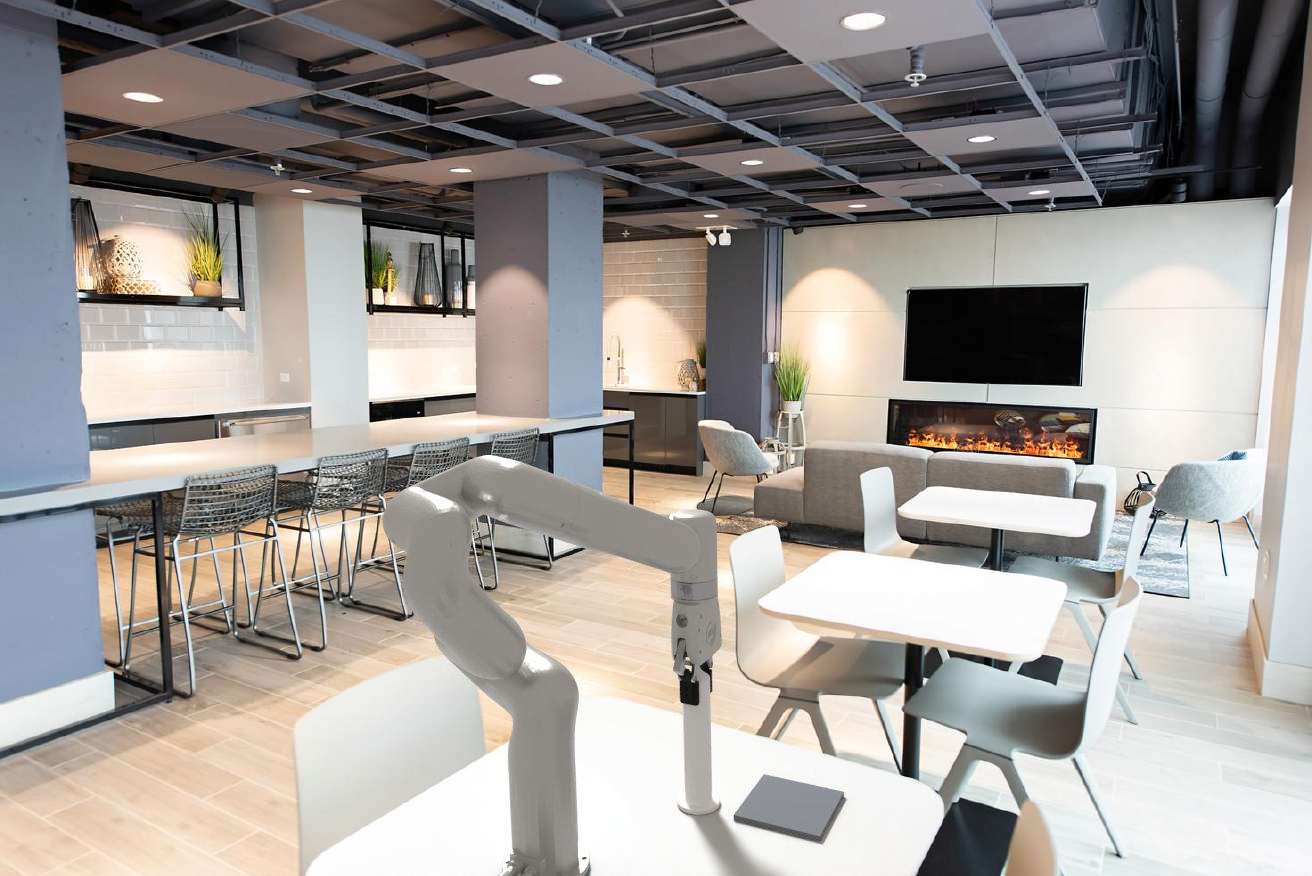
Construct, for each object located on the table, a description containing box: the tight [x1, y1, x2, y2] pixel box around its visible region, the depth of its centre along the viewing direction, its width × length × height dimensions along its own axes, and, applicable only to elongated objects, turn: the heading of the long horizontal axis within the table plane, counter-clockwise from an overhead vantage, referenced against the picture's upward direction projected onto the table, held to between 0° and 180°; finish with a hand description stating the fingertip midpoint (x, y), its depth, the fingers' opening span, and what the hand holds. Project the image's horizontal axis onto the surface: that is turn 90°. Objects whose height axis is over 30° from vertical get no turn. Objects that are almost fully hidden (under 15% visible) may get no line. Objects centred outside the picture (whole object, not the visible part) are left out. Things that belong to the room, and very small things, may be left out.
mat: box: [733, 773, 845, 842], centre depth 138 cm, size 14×14×1 cm
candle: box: [676, 666, 721, 816], centre depth 139 cm, size 7×7×25 cm
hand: (696, 696), depth 138 cm, fingers closed on candle, 4 cm apart
